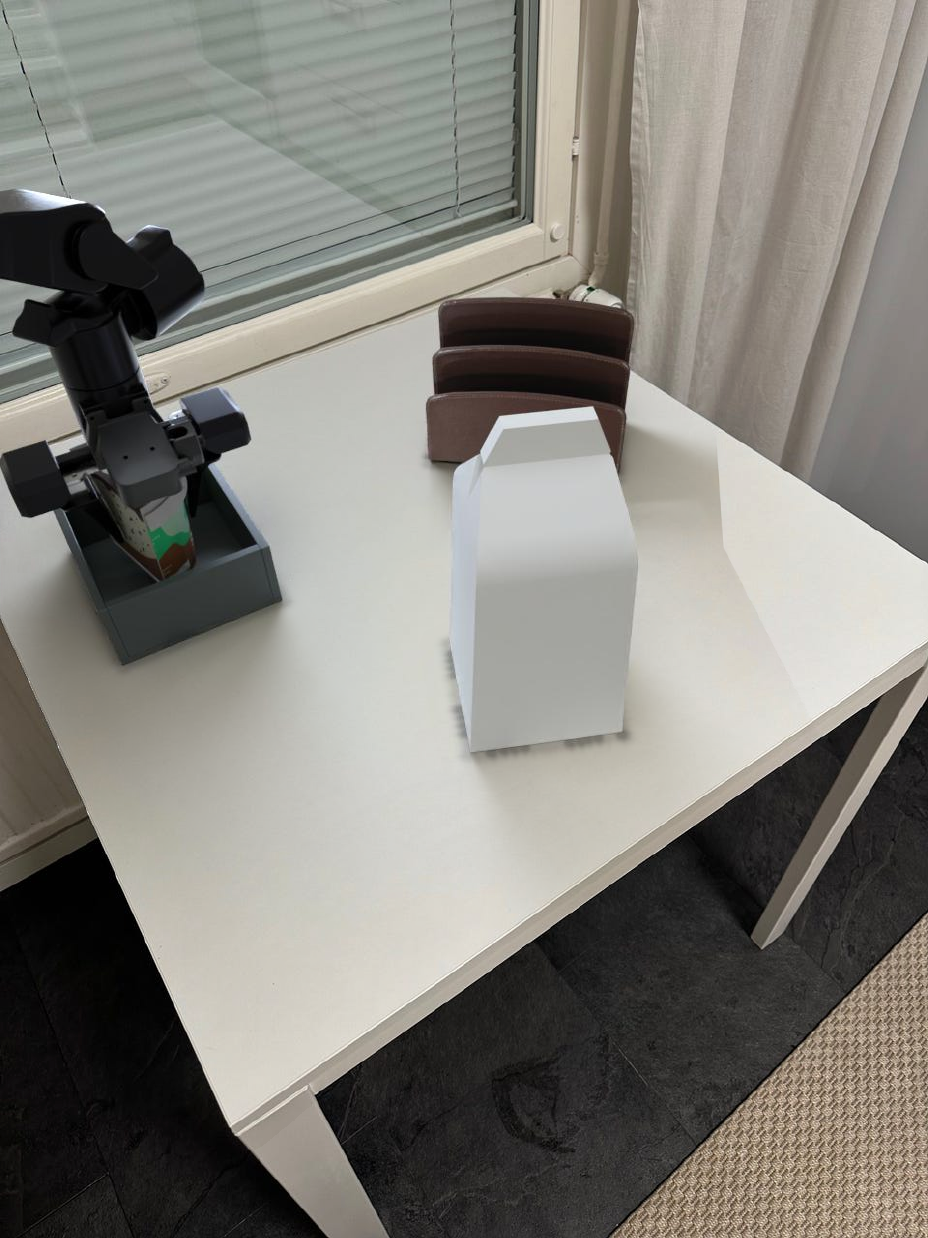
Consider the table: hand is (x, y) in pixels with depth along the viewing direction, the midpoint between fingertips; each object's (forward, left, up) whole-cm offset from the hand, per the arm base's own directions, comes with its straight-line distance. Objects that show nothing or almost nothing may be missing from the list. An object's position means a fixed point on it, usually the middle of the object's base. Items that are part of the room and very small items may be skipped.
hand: (156, 527), depth 78 cm
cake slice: (+1, 0, -3) cm, 3 cm away
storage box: (0, 0, -6) cm, 6 cm away
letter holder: (+39, 0, -6) cm, 39 cm away
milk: (+21, -28, -6) cm, 36 cm away
